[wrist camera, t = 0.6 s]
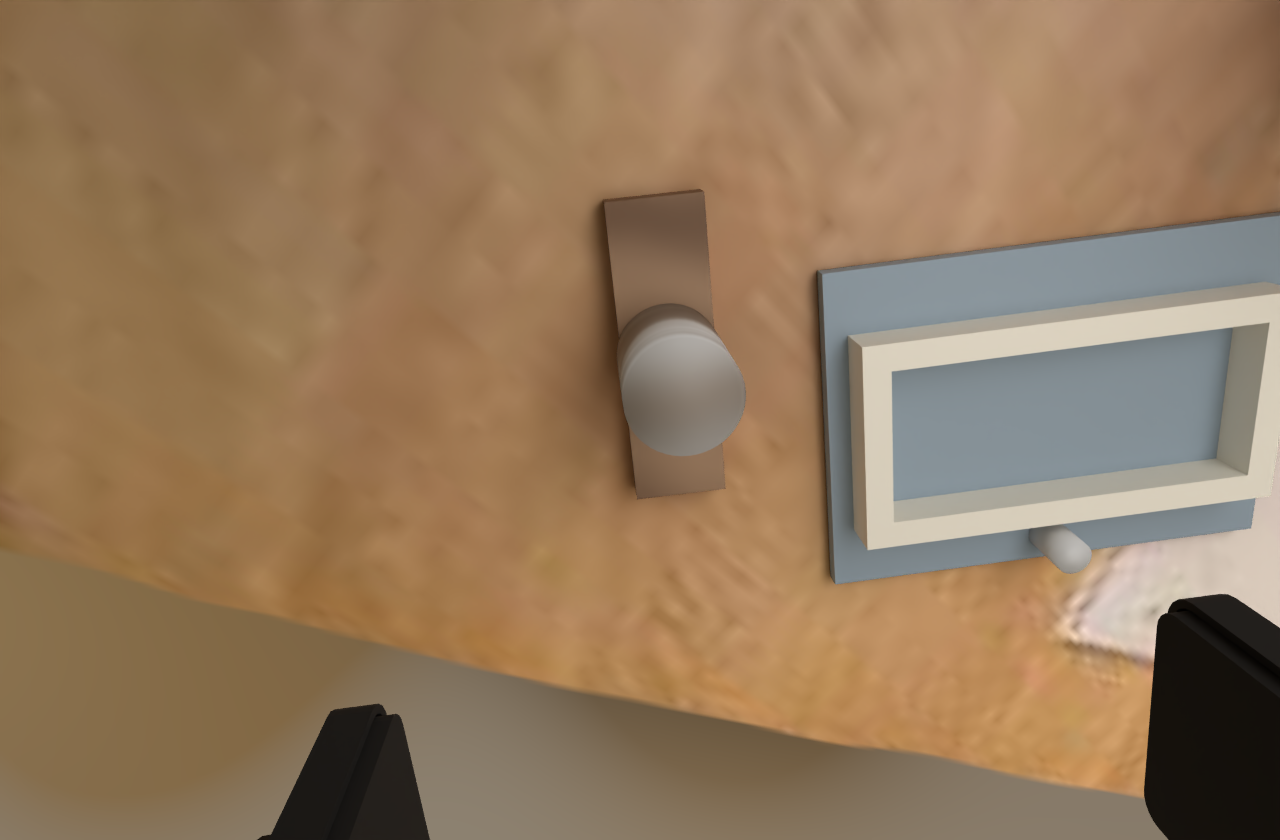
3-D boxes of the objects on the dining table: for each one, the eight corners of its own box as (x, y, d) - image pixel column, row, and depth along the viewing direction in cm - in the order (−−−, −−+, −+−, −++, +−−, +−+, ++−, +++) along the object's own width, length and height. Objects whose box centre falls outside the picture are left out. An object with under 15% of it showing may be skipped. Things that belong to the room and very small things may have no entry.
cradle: (817, 270, 36) (839, 284, 33) (1282, 211, 36) (1347, 219, 33) (830, 575, 41) (850, 613, 38) (1239, 520, 42) (1291, 553, 38)
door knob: (598, 199, 35) (601, 219, 28) (704, 188, 35) (734, 205, 28) (630, 486, 39) (641, 566, 32) (724, 474, 39) (755, 552, 32)
